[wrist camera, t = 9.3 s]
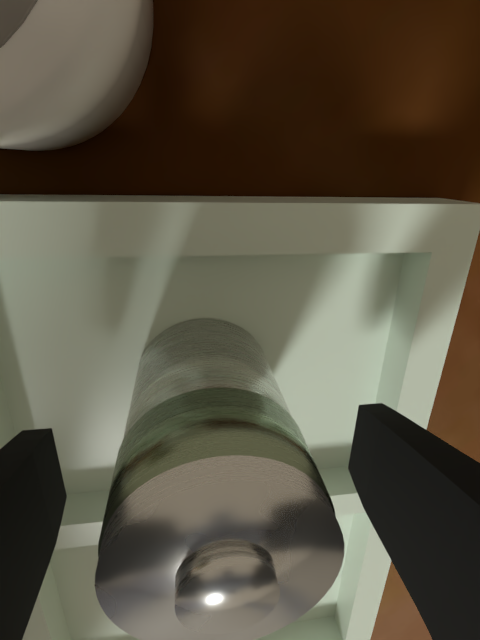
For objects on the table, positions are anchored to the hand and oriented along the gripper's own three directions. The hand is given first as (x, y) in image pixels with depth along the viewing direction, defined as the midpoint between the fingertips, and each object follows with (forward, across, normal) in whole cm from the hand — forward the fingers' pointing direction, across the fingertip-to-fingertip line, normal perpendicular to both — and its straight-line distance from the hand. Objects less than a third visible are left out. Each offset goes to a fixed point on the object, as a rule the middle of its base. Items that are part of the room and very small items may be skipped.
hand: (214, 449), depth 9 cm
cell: (+3, 0, 0) cm, 3 cm away
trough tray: (+3, 0, +4) cm, 6 cm away
